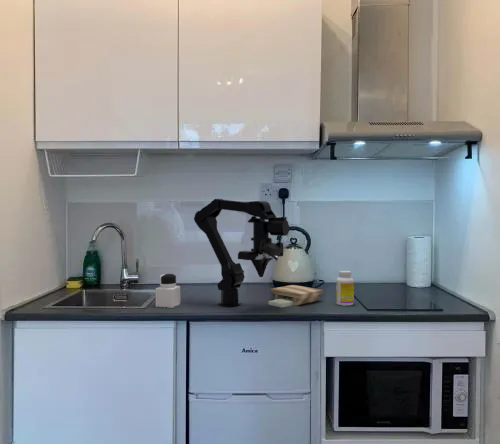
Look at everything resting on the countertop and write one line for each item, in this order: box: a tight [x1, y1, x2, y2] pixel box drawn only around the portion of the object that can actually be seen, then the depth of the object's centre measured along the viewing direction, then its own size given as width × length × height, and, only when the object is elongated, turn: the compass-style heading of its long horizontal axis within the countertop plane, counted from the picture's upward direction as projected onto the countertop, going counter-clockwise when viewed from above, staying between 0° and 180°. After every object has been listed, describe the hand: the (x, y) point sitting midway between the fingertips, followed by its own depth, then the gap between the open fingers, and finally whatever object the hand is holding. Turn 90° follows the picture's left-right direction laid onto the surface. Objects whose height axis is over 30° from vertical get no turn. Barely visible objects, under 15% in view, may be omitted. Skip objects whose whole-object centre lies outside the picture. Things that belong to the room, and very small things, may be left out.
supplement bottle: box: [335, 270, 355, 307], centre depth 187 cm, size 7×7×13 cm
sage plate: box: [267, 297, 295, 308], centre depth 189 cm, size 14×7×2 cm, turn 133°
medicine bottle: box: [155, 273, 181, 309], centre depth 185 cm, size 7×7×12 cm
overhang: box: [270, 284, 324, 306], centre depth 193 cm, size 14×16×5 cm
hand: (261, 277), depth 179 cm, fingers closed
